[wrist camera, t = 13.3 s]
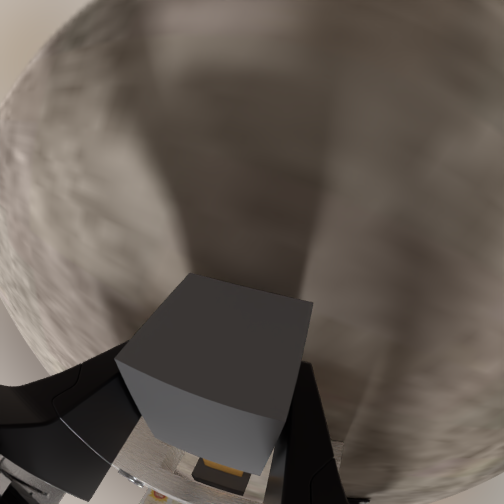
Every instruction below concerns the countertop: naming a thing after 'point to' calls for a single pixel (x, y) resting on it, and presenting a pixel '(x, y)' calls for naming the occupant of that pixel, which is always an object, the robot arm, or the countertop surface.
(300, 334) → the plug
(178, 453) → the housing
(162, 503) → the cracker box
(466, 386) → the countertop surface
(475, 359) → the countertop surface
